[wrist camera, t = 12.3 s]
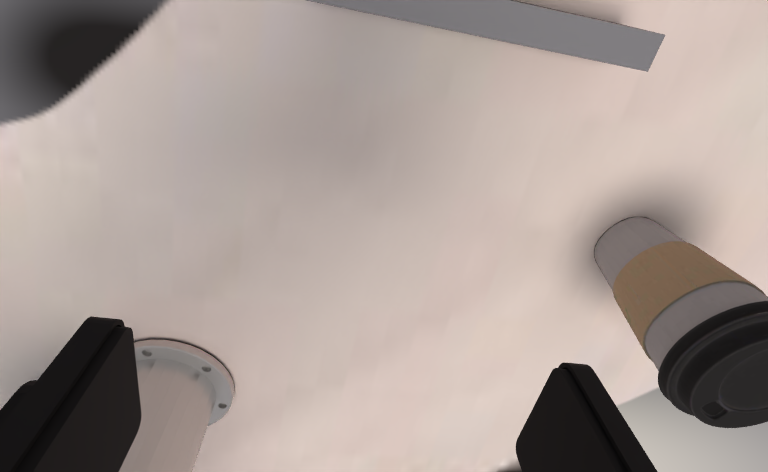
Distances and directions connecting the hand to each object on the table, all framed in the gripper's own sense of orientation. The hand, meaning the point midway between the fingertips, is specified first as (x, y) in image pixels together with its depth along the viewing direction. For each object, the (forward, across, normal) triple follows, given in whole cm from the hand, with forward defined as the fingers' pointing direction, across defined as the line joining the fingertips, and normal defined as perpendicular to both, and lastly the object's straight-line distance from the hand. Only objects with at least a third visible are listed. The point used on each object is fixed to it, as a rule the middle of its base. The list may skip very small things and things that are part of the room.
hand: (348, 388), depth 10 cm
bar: (+24, -7, -8) cm, 26 cm away
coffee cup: (+25, -25, +7) cm, 36 cm away
